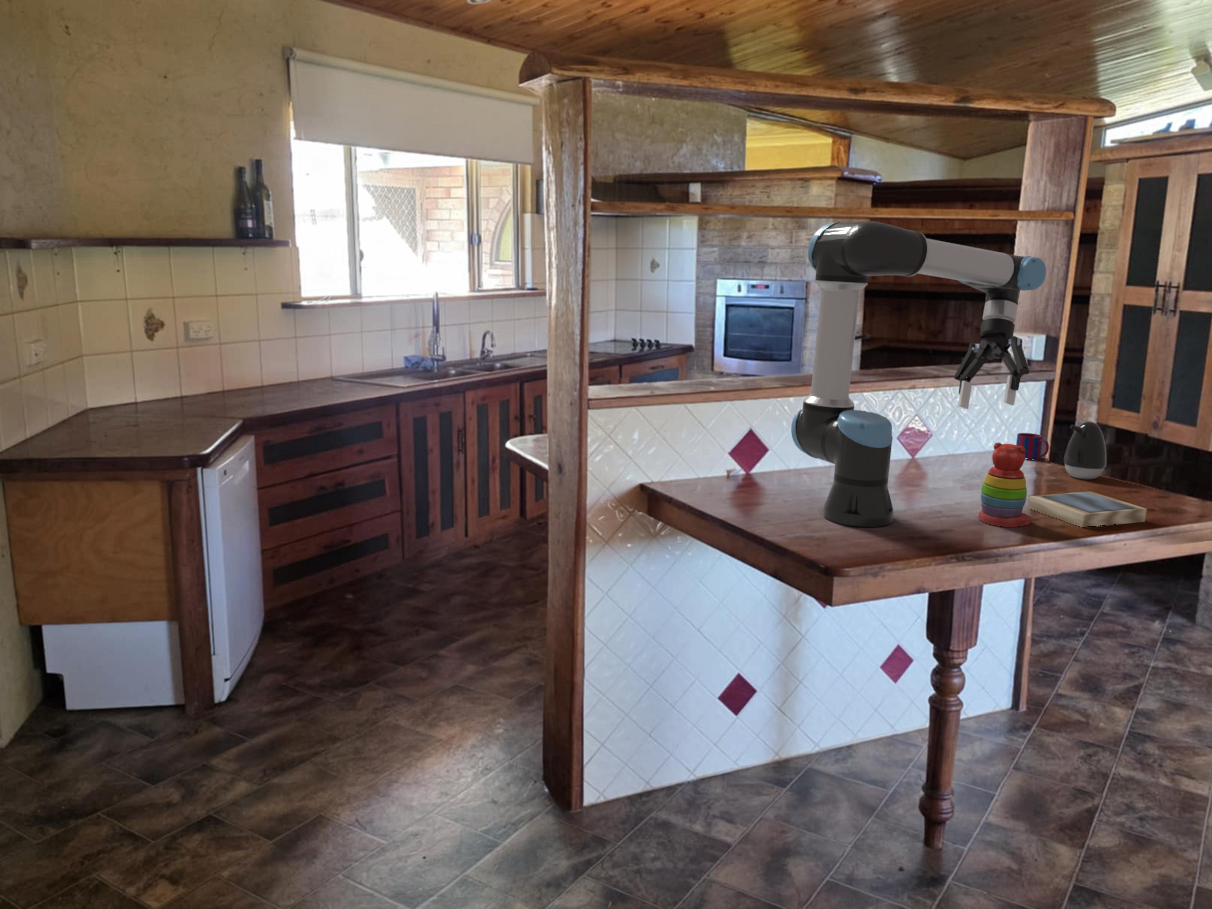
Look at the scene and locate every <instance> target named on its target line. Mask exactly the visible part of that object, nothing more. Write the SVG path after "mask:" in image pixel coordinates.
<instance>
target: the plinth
mask: <svg viewBox="0 0 1212 909" xmlns="http://www.w3.org/2000/svg"><path fill="white" fill-rule="evenodd" d="M1028 509H1029V510H1031V509H1032V510H1031V511H1034V510H1035V511H1034V512H1037V511H1038V512H1037V513H1039V512H1040V514H1042V513H1043V515H1045V514H1046V515H1045V516H1048V515H1049V516H1048V517H1050V516H1051V518H1053V517H1054V519H1056V518H1057V519H1056V520H1059V519H1060V520H1059V521H1062V520H1063V522H1064V521H1065V523H1067V522H1068V524H1070V523H1071V524H1070V525H1073V524H1074V526H1075V525H1077V526H1076V527H1078V526H1080V527H1079V528H1081V527H1086V528H1088V527H1087V526H1096V527H1103V526H1102V525H1106V526H1115V525H1114V524H1116V525H1124V524H1134V523H1135V524H1137V523H1145V522H1146V516H1147V508H1145V507H1142V506H1138V505H1136V504H1133V503H1129V502H1126V501H1122V500H1120V499H1115V498H1113V497H1110V496H1107V495H1103V494H1100V493H1096V492H1093V491H1079V492H1078V491H1077V492H1068V493H1056V494H1055V493H1054V494H1043V495H1031V496H1030V497H1029V504H1028ZM1100 525H1101V526H1100Z"/></svg>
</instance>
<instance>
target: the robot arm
mask: <svg viewBox="0 0 1212 909" xmlns="http://www.w3.org/2000/svg"><path fill="white" fill-rule="evenodd" d="M807 257H808V262H809V264H811V267H812V269H813V270H815V277H814V280H815V281H814V282H815V283H816V284H817V286H818V287H819V288H820V298H819V308H818V317H817V325H816V326H817V327H816V328H817V329H816V338H815V348H814V355H813V356H814V357H813V359H814V360H813V367H812V368H813V369H812V376H811V377H812V378H811V387H810V393H809V395H807V396H806V397H805V398H804V399H803V401H802V402H803V403H802V407H801V408H800V409H799V410H798V411H797V414H795V415H794V416H793V418H792V421H791V426H790V427H791V428H790V430H791V431H790V432H791V438H792V441H793V442H794V445H795V446H796V447H797V449H798V450H799V451H801V452H802V453H804V454H806V455H807V456H809V457H811V458H814V459H818V460H821V461H825V462H827V463H830V464H833V465H834V471H833V472H834V474H833V476H834V477H833V482H832V483H833V484H832V485H831V488H830V490H829V493H828V495H827V498H826V500H825V502H824V504H823V517H824V518H825V519H827V520H828V521H831V522H834V523H838V524H840V525H844V526H845V525H846V526H852V527H853V526H854V527H860V528H861V527H865V528H867V527H868V528H873V527H874V528H875V527H883V526H888V525H891V524H892V523H893V521H894V508H893V502H892V499H891V495H890V491H889V475H890V474H889V473H890V466H891V465H890V462H891V457H892V456H891V455H892V453H891V452H892V446H893V445H892V444H893V439H894V438H893V426H892V425H893V424H892V422H891V421H890V420H889V419H888V418H887V417H886V416H883V415H881V414H880V413H876V412H873V411H867V410H861V409H859V410H858V409H855V403H854V402H853V400H852V399H851V398H850V395H849V394H850V388H851V386H850V385H851V378H852V368H853V359H854V358H853V357H854V348H855V342H856V341H855V339H856V332H857V330H856V328H857V321H858V313H859V312H858V311H859V303H860V302H859V301H860V294H861V291H862V290H864V288H866V286H868V283H869V277H876V276H877V277H878V276H879V277H880V276H900V277H907V278H909V277H910V278H911V277H913V276H915V275H917V274H919V275H925V276H931V277H937V278H944V279H950V280H956V281H958V282H960V283H961V284H964V285H967V286H969V287H971V288H974V289H975V290H978V291H980V292H982V293H985V294H986V295H985V300H984V306H983V307H984V308H983V314H982V320H983V321H982V322H981V326H980V332H979V335H980V337H981V340H980V342H979V343H975V342H970V343H969V345H968V349H967V352H966V354H965V356H963V359H962V362H961V363H960V364H959V367H958V369H957V370H956V373H955V374H954V376H953V379H954V380H957V381H959V387H958V394H959V399H958V405H957V407H959V408H962V409H965V410H969V405H970V398H971V392H972V387H973V383H972V382H971V381H972V380H973V379H974V377H976V374H978V372H979V371H980V370H981V368H982V367H983V366H984V365H985V364H986V363H987V364H988V362H989V361H993V360H1002V362H1003V363H1004V365H1005V366H1006V368H1007V370H1008V371H1009V375H1007V378H1006V386H1005V390H1004V391H1005V392H1004V399H1003V403H1005V404H1008V405H1010V406H1015V404H1016V403H1015V402H1016V401H1015V400H1016V396H1017V391H1018V390H1019V389H1020V383H1021V378H1022V377H1023V376H1024V375H1029V373H1030V368H1029V365H1028V363H1027V360H1026V355H1025V353H1024V349H1023V339H1022V338H1020V337H1018V336H1015V335H1014V333H1015V327H1016V326H1015V325H1016V324H1015V322H1016V319H1017V312H1018V305H1019V297H1020V295H1021V294H1020V292H1021V291H1023V292H1026V291H1035V290H1037V289H1039V288H1040V287H1041V286H1042V285H1043V284H1044V281H1045V280H1046V275H1047V267H1046V264H1045V261H1044V260H1043V259H1041V257H1036V256H1031V255H1026V256H1024V255H1021V256H1020V255H1015V254H1009V253H1005V252H1000V251H994V250H989V249H984V248H978V247H973V246H968V245H962V244H957V243H953V242H952V243H951V242H947V241H941V240H937V239H932V238H927V237H926V236H925V235H924V233H922V232H919V231H915V230H911V229H906V228H903V227H899V226H896V225H895V226H894V225H892V224H888V223H886V222H885V223H884V222H881V221H874V220H873V221H872V220H868V221H845V220H843V221H841V220H840V221H836V222H830V223H827V224H824V225H823V226H821V227H819V228H818V229H817V231H816V232H815V233H814V234H813V235H812V237H811V239H810V242H809V245H808V249H807ZM1009 348H1011V351H1012V354H1011V353H1010V351H1009ZM1012 355H1013V358H1014V359H1013V358H1012Z"/></svg>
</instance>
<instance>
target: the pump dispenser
mask: <svg viewBox="0 0 1212 909" xmlns="http://www.w3.org/2000/svg"><path fill="white" fill-rule="evenodd" d="M1069 428H1070V429H1071V430H1073V431H1074V432H1073V433H1072V436H1071V438H1070V440H1069V441H1068V444H1067V447H1066V450H1065V454H1064V457H1063V463H1064V468H1065V470H1066V472H1067V473H1068V475H1070V476H1071V477H1073V478H1075V479H1079V480H1094V479H1096V478H1098V477H1100V476H1101V474H1102V473H1103V472H1104V470H1105V468H1106V467H1107V448H1106V441H1105V437H1104V434H1103V430H1101V428H1100V425H1099V424H1098V423H1095V421H1094V422H1093V421H1085V422H1082V423H1081V424H1079V425H1074V424H1071V425H1070V427H1069Z"/></svg>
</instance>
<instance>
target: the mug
mask: <svg viewBox="0 0 1212 909" xmlns="http://www.w3.org/2000/svg"><path fill="white" fill-rule="evenodd" d="M1042 443H1044V444H1045V450H1044V453H1043V454H1041V451H1042ZM1015 445H1017V446H1023V447H1024V448H1025V453H1024V454H1025V458H1028V459H1034V460H1033V461H1039V460H1040V459H1041V458H1043V457H1046V455H1047V454H1048V453H1049V449H1050V444H1049V442H1048V441H1047V440H1045V439H1043V435H1042V434H1037V433H1031V432H1030V433H1029V432H1018V433H1017V434H1016V442H1015Z"/></svg>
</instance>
